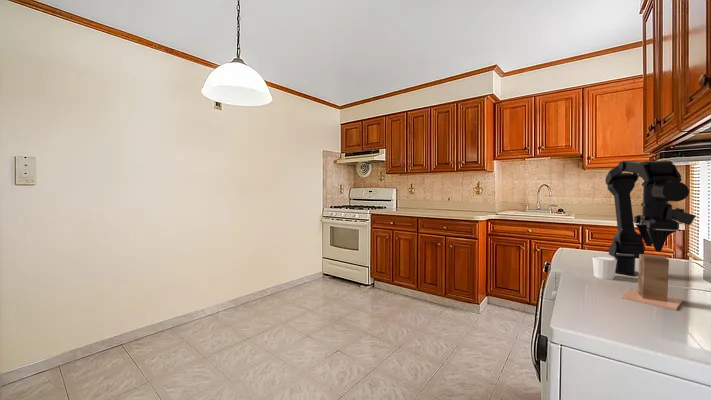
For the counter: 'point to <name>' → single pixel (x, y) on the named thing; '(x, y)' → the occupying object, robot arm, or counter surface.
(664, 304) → the terracotta tile
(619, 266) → the robot arm
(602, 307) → the counter surface
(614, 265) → the white cup
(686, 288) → the counter surface
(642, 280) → the walnut block
